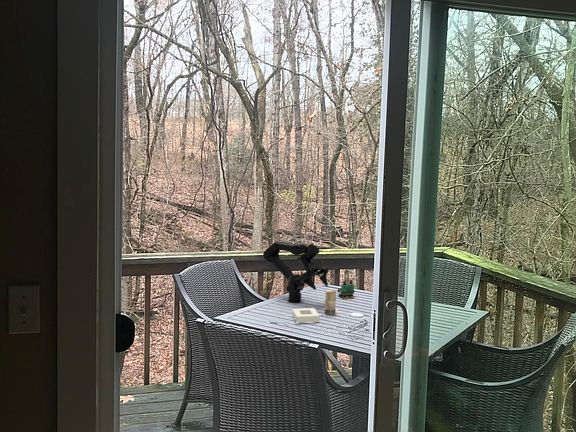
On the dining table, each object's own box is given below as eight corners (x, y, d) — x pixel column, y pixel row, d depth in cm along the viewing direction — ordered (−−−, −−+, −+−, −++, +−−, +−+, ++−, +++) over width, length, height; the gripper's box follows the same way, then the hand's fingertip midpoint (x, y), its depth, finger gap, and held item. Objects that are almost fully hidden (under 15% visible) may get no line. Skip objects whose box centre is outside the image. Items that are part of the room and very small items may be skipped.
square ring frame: (292, 316, 329) (292, 308, 328) (313, 314, 331) (314, 307, 330) (296, 324, 317) (296, 316, 317) (319, 323, 320) (319, 315, 319)
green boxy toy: (347, 277, 367) (356, 280, 358) (347, 294, 368) (356, 298, 359) (334, 279, 363) (343, 282, 354) (334, 296, 364) (343, 300, 355)
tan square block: (324, 313, 333) (325, 290, 331) (329, 312, 336) (330, 289, 333) (330, 315, 330) (331, 292, 328) (335, 314, 333) (336, 291, 330)
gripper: (303, 258, 330) (317, 283, 324) (327, 253, 342) (341, 276, 337) (292, 269, 337) (306, 294, 331) (316, 264, 350) (330, 287, 344)
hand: (321, 287), depth 336 cm, fingers open, 9 cm apart
